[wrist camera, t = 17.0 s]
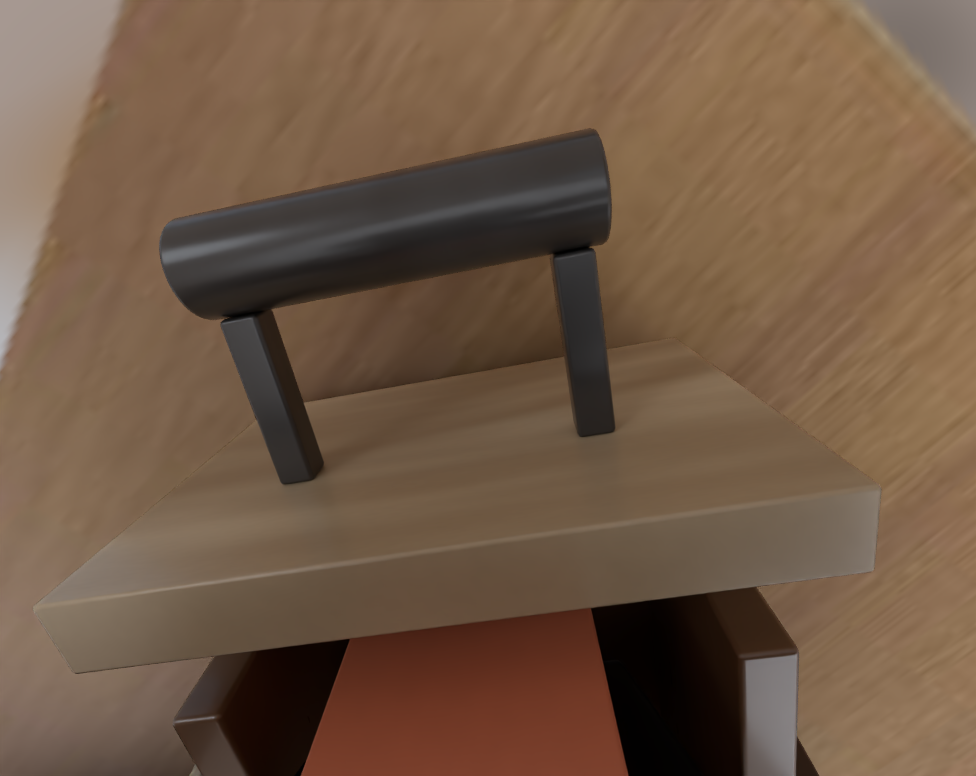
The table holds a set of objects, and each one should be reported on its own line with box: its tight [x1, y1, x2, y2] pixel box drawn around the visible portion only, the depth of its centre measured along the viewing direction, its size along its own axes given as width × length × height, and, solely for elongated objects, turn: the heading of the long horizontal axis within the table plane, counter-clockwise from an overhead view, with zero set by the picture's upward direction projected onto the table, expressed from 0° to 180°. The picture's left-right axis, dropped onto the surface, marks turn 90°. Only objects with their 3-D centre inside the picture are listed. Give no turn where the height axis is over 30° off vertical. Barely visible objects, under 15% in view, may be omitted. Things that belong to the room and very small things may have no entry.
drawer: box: [33, 128, 882, 776], centre depth 10 cm, size 17×10×7 cm, turn 11°
